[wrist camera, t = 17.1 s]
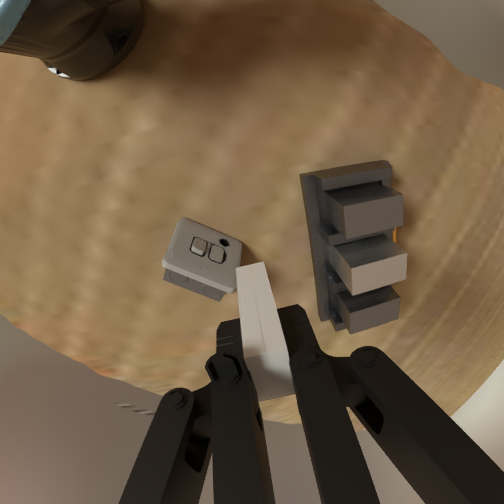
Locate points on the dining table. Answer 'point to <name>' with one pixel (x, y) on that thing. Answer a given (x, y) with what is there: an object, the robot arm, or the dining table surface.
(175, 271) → the electrical switch
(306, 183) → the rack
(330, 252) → the grey block
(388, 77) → the dining table surface
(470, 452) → the robot arm
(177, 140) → the dining table surface
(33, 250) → the dining table surface
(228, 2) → the dining table surface
